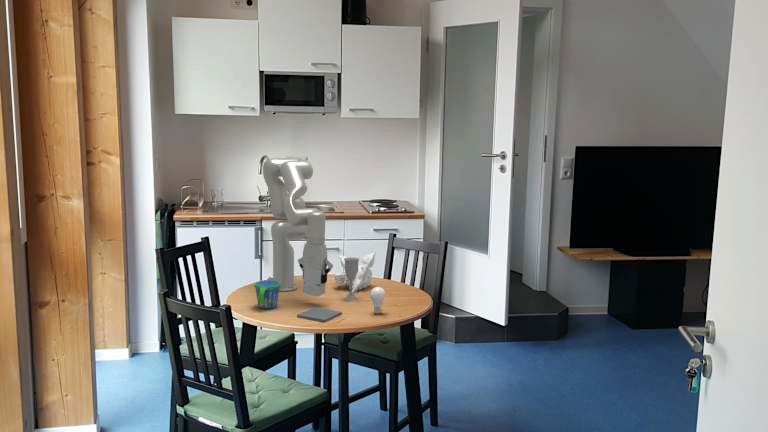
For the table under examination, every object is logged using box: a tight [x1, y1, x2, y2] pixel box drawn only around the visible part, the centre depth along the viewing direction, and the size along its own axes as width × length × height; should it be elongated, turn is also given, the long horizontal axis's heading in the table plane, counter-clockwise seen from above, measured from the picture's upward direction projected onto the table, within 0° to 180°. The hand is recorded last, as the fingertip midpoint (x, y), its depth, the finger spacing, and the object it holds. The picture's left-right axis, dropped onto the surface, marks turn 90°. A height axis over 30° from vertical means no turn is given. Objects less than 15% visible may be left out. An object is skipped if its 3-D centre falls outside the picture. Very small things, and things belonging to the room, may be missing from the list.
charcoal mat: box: [296, 306, 343, 323], centre depth 264 cm, size 13×13×1 cm
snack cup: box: [253, 279, 281, 310], centre depth 274 cm, size 16×10×10 cm
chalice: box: [344, 256, 360, 302], centre depth 288 cm, size 7×7×18 cm
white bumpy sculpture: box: [334, 251, 376, 294], centre depth 310 cm, size 19×20×20 cm
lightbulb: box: [369, 286, 387, 315], centre depth 268 cm, size 6×6×11 cm
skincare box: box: [301, 259, 328, 297], centre depth 278 cm, size 8×6×15 cm
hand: (314, 281), depth 278 cm, fingers closed on skincare box, 8 cm apart
